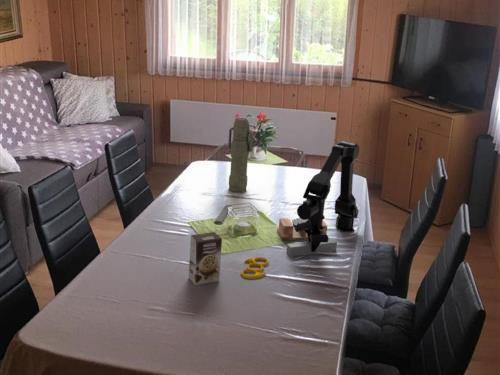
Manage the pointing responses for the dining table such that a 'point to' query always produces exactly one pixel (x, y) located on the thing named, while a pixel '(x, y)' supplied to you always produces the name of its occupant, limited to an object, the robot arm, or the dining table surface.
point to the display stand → (293, 230)
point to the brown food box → (205, 258)
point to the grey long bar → (305, 248)
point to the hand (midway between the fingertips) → (311, 249)
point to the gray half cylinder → (222, 215)
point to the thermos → (239, 154)
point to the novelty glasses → (256, 271)
